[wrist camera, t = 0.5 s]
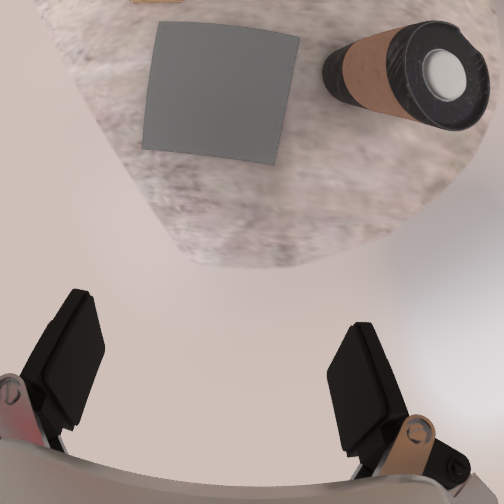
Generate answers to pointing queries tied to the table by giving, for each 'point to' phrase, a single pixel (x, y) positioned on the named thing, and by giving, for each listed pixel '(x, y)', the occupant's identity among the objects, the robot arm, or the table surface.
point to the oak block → (151, 0)
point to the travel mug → (413, 75)
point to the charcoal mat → (218, 90)
